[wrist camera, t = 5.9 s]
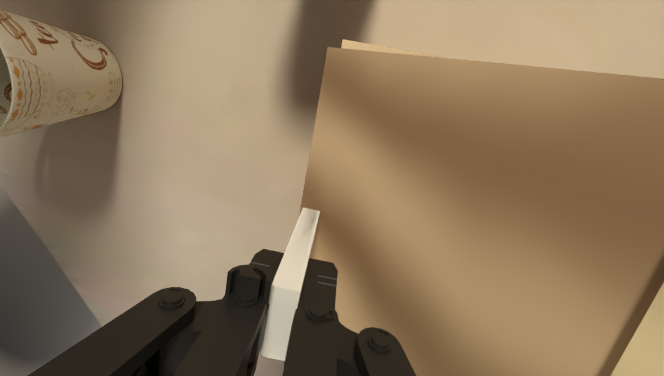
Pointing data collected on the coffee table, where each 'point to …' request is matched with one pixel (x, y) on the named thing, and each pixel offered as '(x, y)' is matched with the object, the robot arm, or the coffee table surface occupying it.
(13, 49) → the mug
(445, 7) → the coffee table surface
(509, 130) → the lid
